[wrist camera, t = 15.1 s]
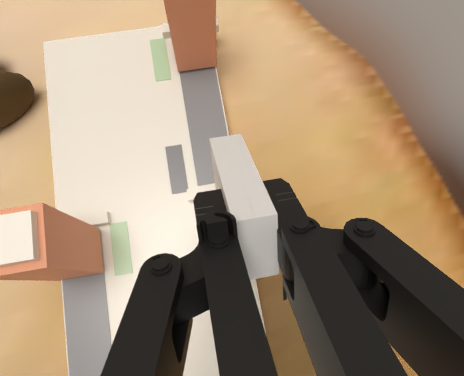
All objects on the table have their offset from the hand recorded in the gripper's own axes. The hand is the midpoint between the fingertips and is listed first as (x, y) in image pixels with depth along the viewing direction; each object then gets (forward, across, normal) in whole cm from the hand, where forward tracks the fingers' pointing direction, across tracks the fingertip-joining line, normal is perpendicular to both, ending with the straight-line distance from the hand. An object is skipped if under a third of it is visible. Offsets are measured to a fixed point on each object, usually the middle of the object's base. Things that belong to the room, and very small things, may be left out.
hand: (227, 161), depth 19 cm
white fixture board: (+8, -5, -8) cm, 13 cm away
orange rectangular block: (+15, 0, +2) cm, 15 cm away
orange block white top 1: (+6, -10, -8) cm, 14 cm away
